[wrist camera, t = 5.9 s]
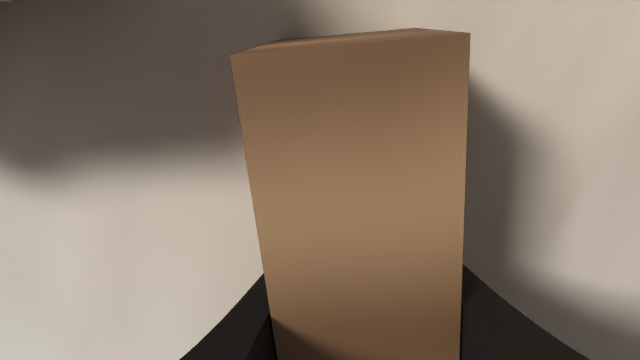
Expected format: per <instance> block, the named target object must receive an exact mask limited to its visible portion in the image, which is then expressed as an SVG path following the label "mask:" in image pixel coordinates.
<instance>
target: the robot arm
mask: <svg viewBox="0 0 640 360" xmlns="http://www.w3.org/2000/svg"><path fill="white" fill-rule="evenodd" d="M180 360H278V359H277V353H276V346H275V340H274V334H273V327H272V321H271V315H270V308H269V302H268V296H267V289H266V283H265V277H264V273H263V275H262V276H261V277H260V278H259V279H258V280H257V281H256V282H255V284H254V285H253V286H252V287H251V288H250V289H249V290H248V292H247V293H246V294H245V295H244V296H243V297H242V298H241V300H240V301H239V302H238V303H237V304H236V305H235V306H234V307H233V308H232V309H231V311H230V312H229V313H228V314H227V315H226V316H225V317H224V318H223V319H222V320H221V321H220V322H219V323H218V324H217V325H216V326H215V327H214V328H213V329H212V330H211V331H210V332H209V333H208V334H207V335H206V336H205V337H204V338H203V339H202V340H201V341H200V342H199V343H198V344H197V345H196V346H195V347H193V348H192V349H191V350H190V351H189V352H188V353H187V354H186V355H184V356H183V357H182V358H181V359H180ZM459 360H589V359H588V358H586V357H585V356H583V355H581V354H580V353H578V352H576V351H575V350H573V349H572V348H570V347H568V346H567V345H565V344H564V343H562V342H561V341H559V340H558V339H556V338H555V337H553V336H552V335H551V334H549V333H548V332H546V331H545V330H544V329H542V328H541V327H539V326H538V325H537V324H535V323H534V322H532V321H531V320H530V319H528V318H527V317H526V316H524V315H523V314H522V313H520V312H519V311H518V310H516V309H515V308H514V307H513V306H511V305H510V304H509V303H508V302H506V301H505V300H504V299H503V298H501V297H500V296H499V295H498V294H497V293H495V292H494V291H493V290H492V289H491V288H489V287H488V286H487V285H486V284H485V283H484V282H483V281H481V280H480V279H479V278H478V277H477V276H476V275H474V274H473V273H472V272H471V271H470V270H469V269H468V268H467V267H465V266H464V265H462V294H461V324H460V353H459Z"/></svg>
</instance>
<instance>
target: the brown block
mask: <svg viewBox="0 0 640 360" xmlns="http://www.w3.org/2000/svg"><path fill="white" fill-rule="evenodd" d="M469 58H470V33H464V32H453V31H442V30H431V29H420V28H409V29H399V30H388V31H377V32H366V33H355V34H345V35H334V36H323V37H312V38H301V39H291V40H280V41H275V42H272V43H269V44H265V45H262V46H258V47H255V48H251V49H248V50H245V51H241V52H238V53H234V54H231V55H230V62H231V68H232V74H233V81H234V87H235V93H236V99H237V106H238V112H239V118H240V125H241V131H242V137H243V144H244V150H245V156H246V163H247V169H248V175H249V182H250V188H251V194H252V201H253V207H254V213H255V220H256V226H257V232H258V239H259V245H260V251H261V258H262V264H263V270H264V277H265V283H266V289H267V296H268V302H269V308H270V315H271V321H272V327H273V334H274V340H275V346H276V353H277V359H278V360H459V353H460V324H461V294H462V265H463V235H464V206H465V176H466V146H467V117H468V87H469Z"/></svg>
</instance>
